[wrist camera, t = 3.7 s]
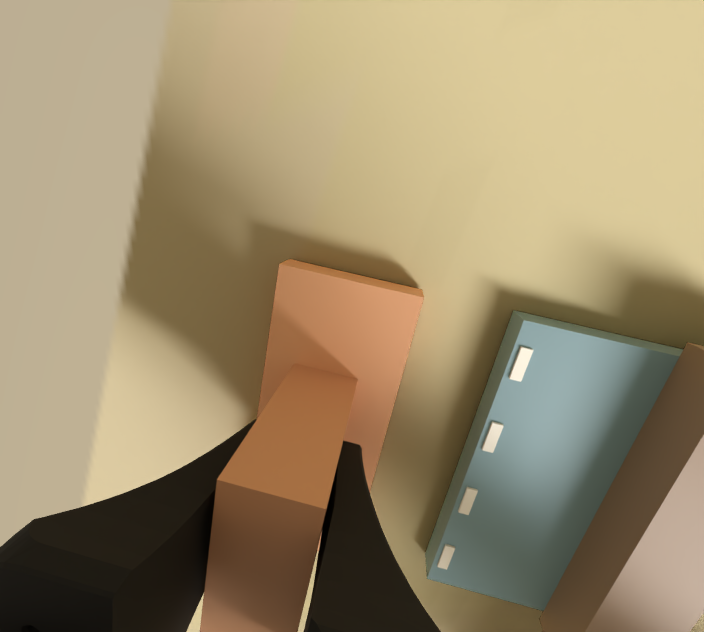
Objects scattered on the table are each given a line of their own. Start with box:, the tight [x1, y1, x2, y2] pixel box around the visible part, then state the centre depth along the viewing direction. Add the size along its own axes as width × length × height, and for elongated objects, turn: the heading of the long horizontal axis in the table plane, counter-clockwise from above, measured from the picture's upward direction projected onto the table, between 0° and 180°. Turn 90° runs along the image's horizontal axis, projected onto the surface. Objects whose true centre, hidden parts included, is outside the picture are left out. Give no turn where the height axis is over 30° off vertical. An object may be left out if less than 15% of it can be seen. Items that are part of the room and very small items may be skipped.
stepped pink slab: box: [200, 259, 424, 632], centre depth 12 cm, size 5×12×7 cm, turn 168°
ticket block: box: [425, 310, 704, 632], centre depth 13 cm, size 8×13×3 cm, turn 168°
